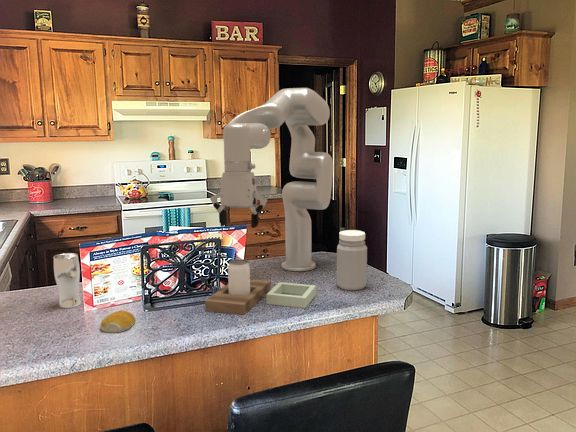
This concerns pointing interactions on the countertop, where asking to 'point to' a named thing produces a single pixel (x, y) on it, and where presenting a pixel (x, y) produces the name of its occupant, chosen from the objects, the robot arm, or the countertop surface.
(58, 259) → the beer glass
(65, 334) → the countertop surface
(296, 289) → the sage holder
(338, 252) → the jar
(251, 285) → the walnut holder
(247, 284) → the can
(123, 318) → the bread roll
